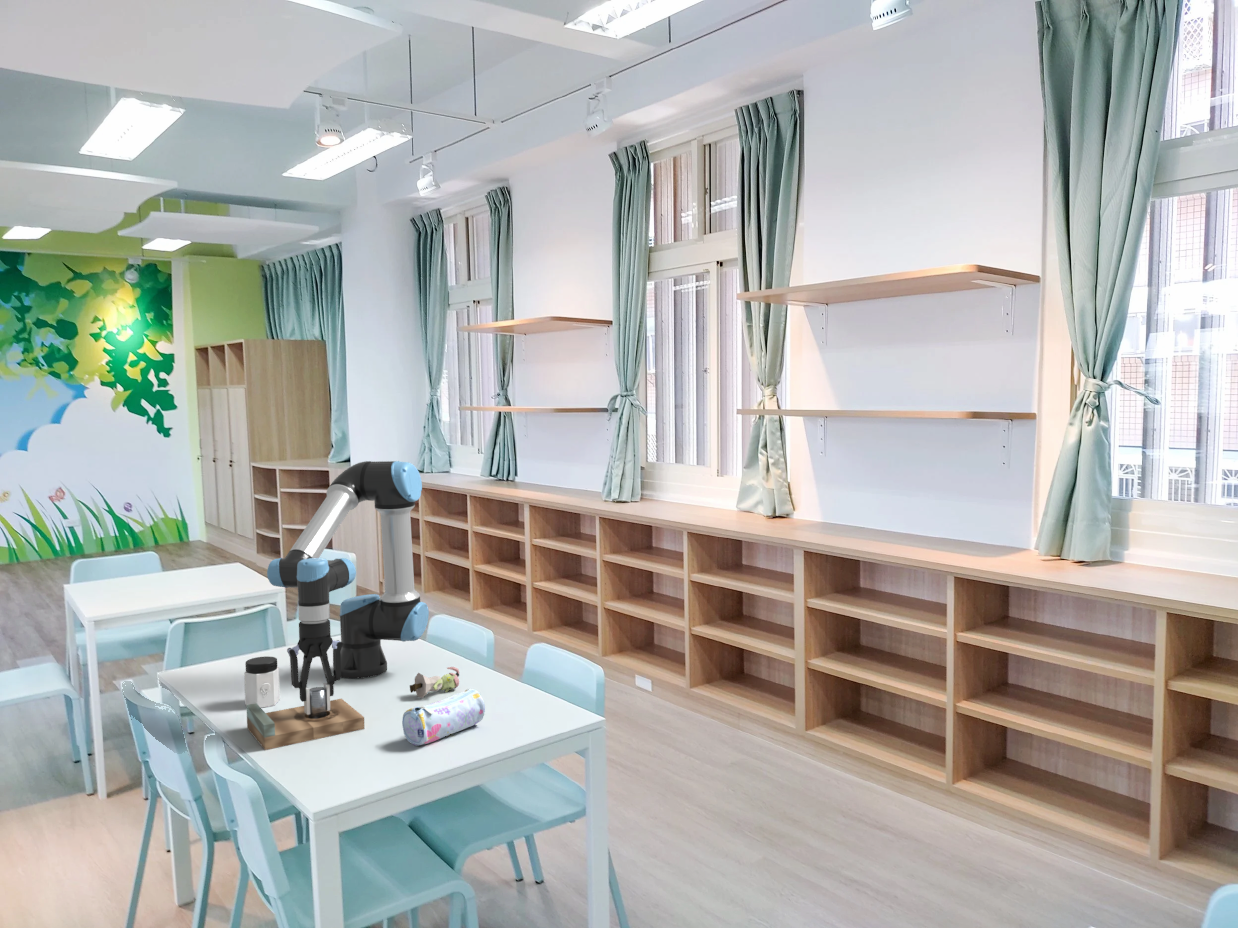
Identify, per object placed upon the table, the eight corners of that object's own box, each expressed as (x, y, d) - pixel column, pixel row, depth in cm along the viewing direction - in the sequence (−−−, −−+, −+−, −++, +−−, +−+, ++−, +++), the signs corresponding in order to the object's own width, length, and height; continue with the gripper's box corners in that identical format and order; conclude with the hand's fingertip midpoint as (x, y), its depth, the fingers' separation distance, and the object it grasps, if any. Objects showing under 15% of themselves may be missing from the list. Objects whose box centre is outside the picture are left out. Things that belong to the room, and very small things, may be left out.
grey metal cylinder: (323, 716, 235) (322, 685, 234) (329, 720, 231) (328, 689, 230) (306, 719, 232) (305, 688, 232) (311, 724, 228) (310, 693, 228)
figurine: (421, 698, 248) (469, 689, 258) (417, 670, 250) (465, 663, 259) (407, 702, 254) (454, 693, 264) (403, 675, 256) (450, 667, 266)
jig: (341, 709, 244) (341, 687, 244) (364, 728, 229) (363, 705, 229) (247, 728, 231) (246, 704, 230) (265, 749, 216) (264, 725, 215)
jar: (248, 710, 244) (247, 666, 243) (242, 702, 251) (240, 659, 250) (283, 704, 249) (282, 661, 248) (276, 696, 256) (274, 654, 255)
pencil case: (420, 751, 215) (419, 711, 214) (398, 742, 220) (397, 703, 220) (488, 726, 230) (487, 689, 230) (466, 719, 236) (465, 683, 235)
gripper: (343, 612, 238) (346, 700, 239) (274, 622, 228) (278, 713, 230) (353, 618, 232) (356, 708, 233) (282, 628, 222) (286, 722, 223)
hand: (317, 710), depth 231 cm, fingers closed on grey metal cylinder, 4 cm apart
